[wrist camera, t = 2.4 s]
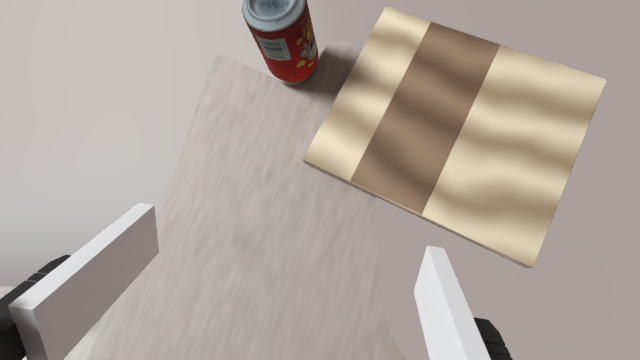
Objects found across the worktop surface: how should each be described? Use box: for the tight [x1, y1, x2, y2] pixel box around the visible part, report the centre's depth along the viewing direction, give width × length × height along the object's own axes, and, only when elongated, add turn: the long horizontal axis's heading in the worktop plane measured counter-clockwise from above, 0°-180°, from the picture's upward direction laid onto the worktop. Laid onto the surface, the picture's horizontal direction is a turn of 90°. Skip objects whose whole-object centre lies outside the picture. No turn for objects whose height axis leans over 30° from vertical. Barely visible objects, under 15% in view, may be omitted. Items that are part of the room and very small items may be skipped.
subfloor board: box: [303, 7, 607, 268], centre depth 41 cm, size 24×28×2 cm
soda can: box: [242, 0, 318, 83], centre depth 40 cm, size 7×7×12 cm
